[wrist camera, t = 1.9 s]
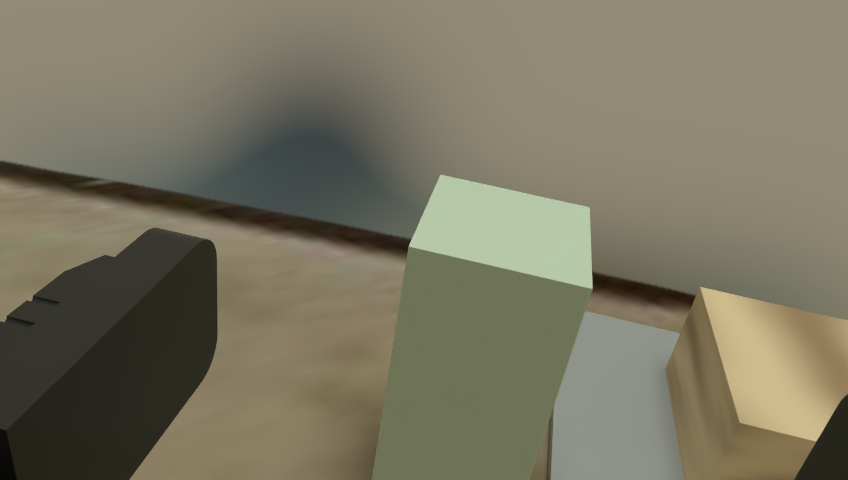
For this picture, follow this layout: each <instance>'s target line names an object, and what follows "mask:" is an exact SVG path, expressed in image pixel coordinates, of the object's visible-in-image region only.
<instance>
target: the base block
mask: <svg viewBox="0 0 848 480" xmlns="http://www.w3.org/2000/svg"><path fill="white" fill-rule="evenodd" d="M665 370H666V375H667V381H668V387H669V393H670V398H671V404H672V410H673V415H674V421H675V427H676V433H677V438H678V444H679V450H680V455H681V461H682V467H683V473H684V478H685V480H794V479H795V477H796V476H797V474H798V472H799V470H800V469H801V467H802V465H803V464H804V462H805V460H806V458H807V457H808V455H809V453H810V452H811V450H812V448H813V447H814V445H815V443H816V441H817V440H818V438H819V436H820V435H821V433H822V431H823V430H824V428H825V426H826V424H827V423H828V421H829V419H830V418H831V416H832V414H833V413H834V411H835V409H836V407H837V406H838V404H839V403H840V401H841V400H842V399H843V398H844V397H845V396H846V395H847V394H848V321H847V320H843V319H839V318H834V317H830V316H825V315H821V314H816V313H812V312H808V311H804V310H799V309H795V308H790V307H786V306H782V305H777V304H773V303H768V302H764V301H760V300H755V299H751V298H746V297H742V296H738V295H733V294H729V293H724V292H720V291H716V290H711V289H707V288H703V287H700V289H699V291H698V293H697V296H696V298H695V300H694V303H693V305H692V307H691V310H690V312H689V314H688V317H687V319H686V321H685V324H684V326H683V329H682V331H681V333H680V336H679V338H678V340H677V343H676V345H675V347H674V350H673V352H672V354H671V357H670V359H669V361H668V364H667V366H666V369H665Z"/></svg>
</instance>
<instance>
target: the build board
mask: <svg viewBox="0 0 848 480" xmlns="http://www.w3.org/2000/svg"><path fill="white" fill-rule="evenodd" d="M679 336H680V333H676V332H672V331H668V330H664V329H659V328H655V327H651V326H647V325H642V324H638V323H634V322H630V321H625V320H621V319H617V318H613V317H608V316H604V315H600V314H596V313H591V312H587V311H585V313H584V316H583V319H582V322H581V325H580V328H579V331H578V334H577V337H576V340H575V343H574V346H573V350H572V353H571V356H570V359H569V362H568V365H567V368H566V371H565V374H564V377H563V380H562V383H561V386H560V389H559V392H558V395H557V398H556V401H555V404H554V407H553V410H552V413H551V420H550V440H549V461H548V480H685V478H684V473H683V467H682V461H681V455H680V450H679V444H678V438H677V433H676V427H675V421H674V415H673V410H672V404H671V398H670V393H669V387H668V381H667V375H666V370H665V369H666V366H667V364H668V361H669V359H670V357H671V354H672V352H673V350H674V347H675V345H676V343H677V340H678V338H679Z"/></svg>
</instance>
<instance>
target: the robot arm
mask: <svg viewBox="0 0 848 480" xmlns="http://www.w3.org/2000/svg"><path fill="white" fill-rule="evenodd" d="M216 343H217V256H216V249H215V246H214V244H213V242H211V241H210V240H207V239H203V238H199V237H194V236H190V235H186V234H181V233H177V232H173V231H168V230H164V229H160V228H152V229H149V230H148V231H146V232H145V233H143V234H142V235H141V236H140V237H139V238H137V239H136V240H135V241H134V242H133V243H131V244H130V245H129V246H128V247H127V248H125V249H124V250H123V251H122V252H120V253H119V254H118V255H117V256H116V257H111V256H107V255H104V256H102V257H99V258H97V259H94V260H92V261H89V262H87V263H84V264H82V265H79V266H77V267H75V268H72V269H70V270H67V271H65V272H63V273H62V274H61V275H59V276H58V277H57V278H55V279H54V280H53V281H52V282H50V283H49V284H48V285H46V286H45V287H44V288H42V289H41V290H40V291H39V292H37V293H36V294H35V295H33V299H32V301H26V302H24V303H23V304H22V305H20V306H19V307H18V308H17V309H15V310H14V311H13V312H11V313H10V314H9V315H8V316H7V319H6V321H5V322H0V480H129V479H130V478H131V477H132V475H133V474H134V472H135V471H136V470H137V468H138V467H139V466H140V464H141V463H142V462H143V460H144V459H145V458H146V456H147V455H148V454H149V452H150V451H151V450H152V448H153V447H154V445H155V444H156V443H157V441H158V440H159V439H160V437H161V436H162V435H163V433H164V432H165V431H166V429H167V428H168V427H169V425H170V424H171V422H172V421H173V420H174V418H175V417H176V416H177V414H178V413H179V412H180V410H181V409H182V408H183V406H184V405H185V404H186V402H187V401H188V399H189V398H190V397H191V395H192V394H193V393H194V391H195V390H196V389H197V387H198V386H199V385H200V383H201V382H202V380H203V379H204V377H205V375H206V374H207V372H208V369H209V367H210V365H211V362H212V359H213V356H214V352H215V348H216ZM794 480H848V394H847V395H846V396H845V397H844V398H843V399H842V400H841V401H840V403H839V404H838V406H837V407H836V409H835V411H834V413H833V414H832V416H831V418H830V419H829V421H828V423H827V424H826V426H825V428H824V430H823V431H822V433H821V435H820V436H819V438H818V440H817V441H816V443H815V445H814V447H813V448H812V450H811V452H810V453H809V455H808V457H807V458H806V460H805V462H804V464H803V465H802V467H801V469H800V470H799V472H798V474H797V476H796V477H795V479H794Z"/></svg>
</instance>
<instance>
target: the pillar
mask: <svg viewBox="0 0 848 480" xmlns="http://www.w3.org/2000/svg"><path fill="white" fill-rule="evenodd" d="M590 234H591V232H590V208H589V207H585V206H580V205H576V204H571V203H567V202H562V201H558V200H553V199H549V198H544V197H540V196H535V195H530V194H525V193H521V192H517V191H512V190H507V189H503V188H498V187H494V186H490V185H485V184H480V183H476V182H471V181H467V180H462V179H458V178H453V177H449V176H444V175H441V176H440V178H439V180H438V182H437V184H436V187H435V189H434V191H433V193H432V195H431V198H430V200H429V202H428V204H427V207H426V209H425V211H424V213H423V216H422V218H421V220H420V223H419V225H418V227H417V229H416V232H415V234H414V236H413V238H412V240H411V243H410V245H409V248H408V255H407V261H406V267H405V273H404V280H403V286H402V292H401V298H400V305H399V311H398V317H397V324H396V330H395V336H394V342H393V349H392V355H391V361H390V367H389V374H388V380H387V386H386V392H385V399H384V405H383V411H382V417H381V424H380V430H379V436H378V442H377V449H376V455H375V461H374V468H373V474H372V480H530V477H531V474H532V471H533V468H534V465H535V462H536V459H537V456H538V453H539V450H540V447H541V444H542V441H543V437H544V434H545V431H546V428H547V425H548V422H549V419H550V416H551V413H552V410H553V407H554V404H555V401H556V398H557V395H558V392H559V389H560V386H561V383H562V380H563V377H564V374H565V371H566V368H567V365H568V362H569V359H570V356H571V353H572V350H573V346H574V343H575V340H576V337H577V334H578V331H579V328H580V325H581V322H582V319H583V316H584V313H585V310H586V307H587V304H588V301H589V298H590V295H591V292H592V261H591V235H590Z"/></svg>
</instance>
